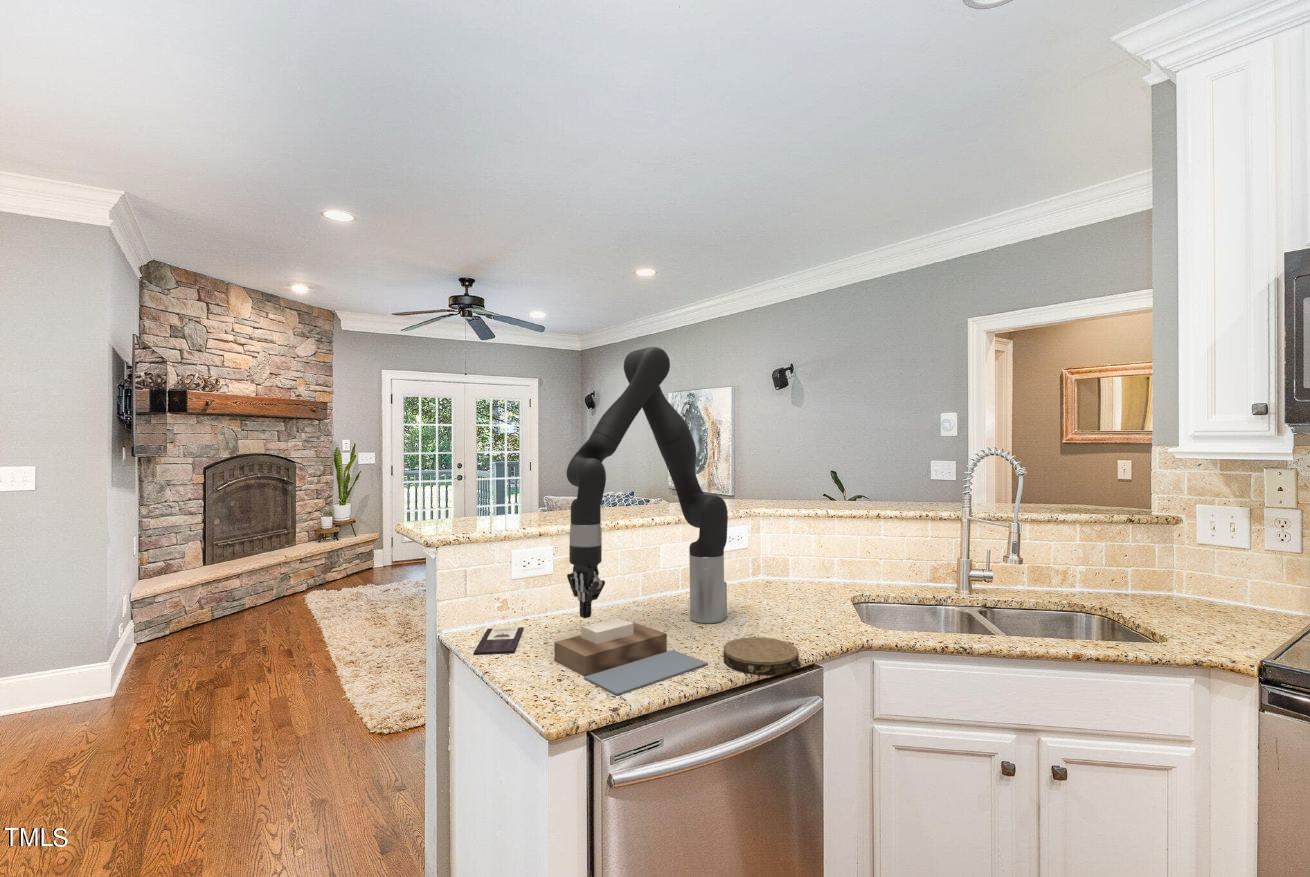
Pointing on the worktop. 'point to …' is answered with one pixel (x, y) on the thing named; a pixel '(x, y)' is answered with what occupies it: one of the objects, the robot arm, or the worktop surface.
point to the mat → (644, 672)
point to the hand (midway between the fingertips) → (585, 617)
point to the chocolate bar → (499, 641)
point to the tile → (606, 630)
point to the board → (609, 650)
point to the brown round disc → (761, 656)
